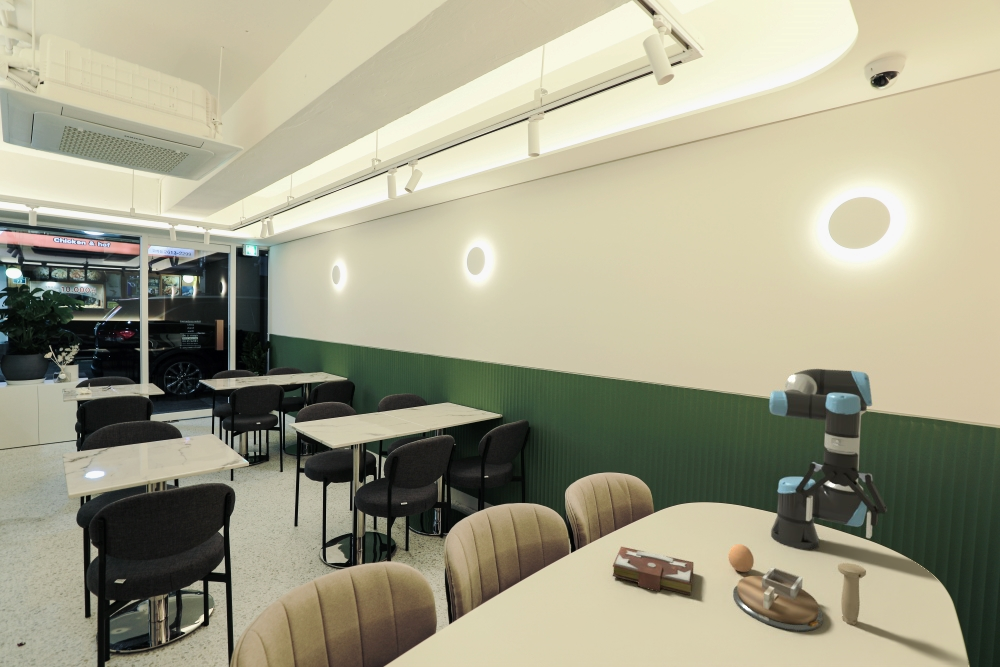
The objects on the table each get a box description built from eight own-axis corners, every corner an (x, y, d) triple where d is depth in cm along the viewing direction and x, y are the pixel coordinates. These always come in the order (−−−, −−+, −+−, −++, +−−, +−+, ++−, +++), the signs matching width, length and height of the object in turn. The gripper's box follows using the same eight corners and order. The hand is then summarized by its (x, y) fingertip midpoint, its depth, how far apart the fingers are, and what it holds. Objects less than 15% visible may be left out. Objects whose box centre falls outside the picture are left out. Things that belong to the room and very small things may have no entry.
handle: (868, 627, 126) (870, 572, 126) (846, 628, 125) (849, 573, 125) (852, 615, 131) (854, 562, 131) (831, 617, 130) (833, 563, 130)
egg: (747, 579, 149) (748, 552, 148) (724, 569, 154) (725, 544, 154) (756, 571, 154) (757, 545, 153) (733, 562, 159) (734, 537, 159)
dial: (750, 574, 149) (751, 556, 149) (826, 603, 135) (826, 582, 134) (726, 600, 135) (727, 579, 135) (807, 634, 121) (808, 611, 120)
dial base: (748, 576, 150) (748, 571, 150) (830, 607, 135) (831, 602, 135) (721, 604, 135) (721, 599, 135) (811, 643, 119) (811, 637, 119)
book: (693, 574, 152) (693, 558, 152) (690, 599, 138) (691, 582, 138) (620, 557, 162) (621, 543, 162) (611, 579, 148) (611, 564, 147)
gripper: (785, 443, 135) (782, 516, 135) (898, 464, 116) (894, 549, 117) (793, 439, 140) (790, 509, 140) (903, 458, 121) (899, 540, 122)
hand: (837, 527), depth 129 cm, fingers open, 13 cm apart
